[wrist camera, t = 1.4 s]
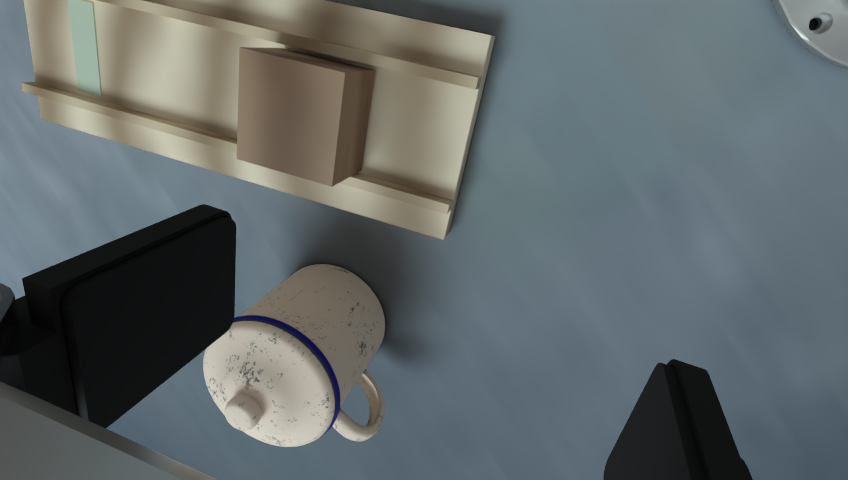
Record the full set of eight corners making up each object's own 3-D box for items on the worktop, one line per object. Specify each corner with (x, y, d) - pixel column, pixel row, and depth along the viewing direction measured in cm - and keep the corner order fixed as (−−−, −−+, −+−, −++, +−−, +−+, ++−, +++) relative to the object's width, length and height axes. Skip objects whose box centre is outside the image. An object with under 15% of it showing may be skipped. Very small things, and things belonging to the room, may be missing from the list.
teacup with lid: (261, 304, 38) (143, 398, 28) (325, 234, 34) (215, 315, 23) (367, 407, 39) (291, 538, 28) (442, 351, 35) (385, 480, 24)
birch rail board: (495, 36, 26) (488, 34, 24) (449, 232, 31) (439, 245, 29) (37, -61, 32) (-3, -70, 30) (60, 116, 37) (27, 120, 35)
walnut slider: (375, 70, 27) (345, 72, 23) (361, 170, 29) (331, 186, 26) (282, 48, 28) (239, 47, 24) (276, 146, 30) (236, 158, 27)
